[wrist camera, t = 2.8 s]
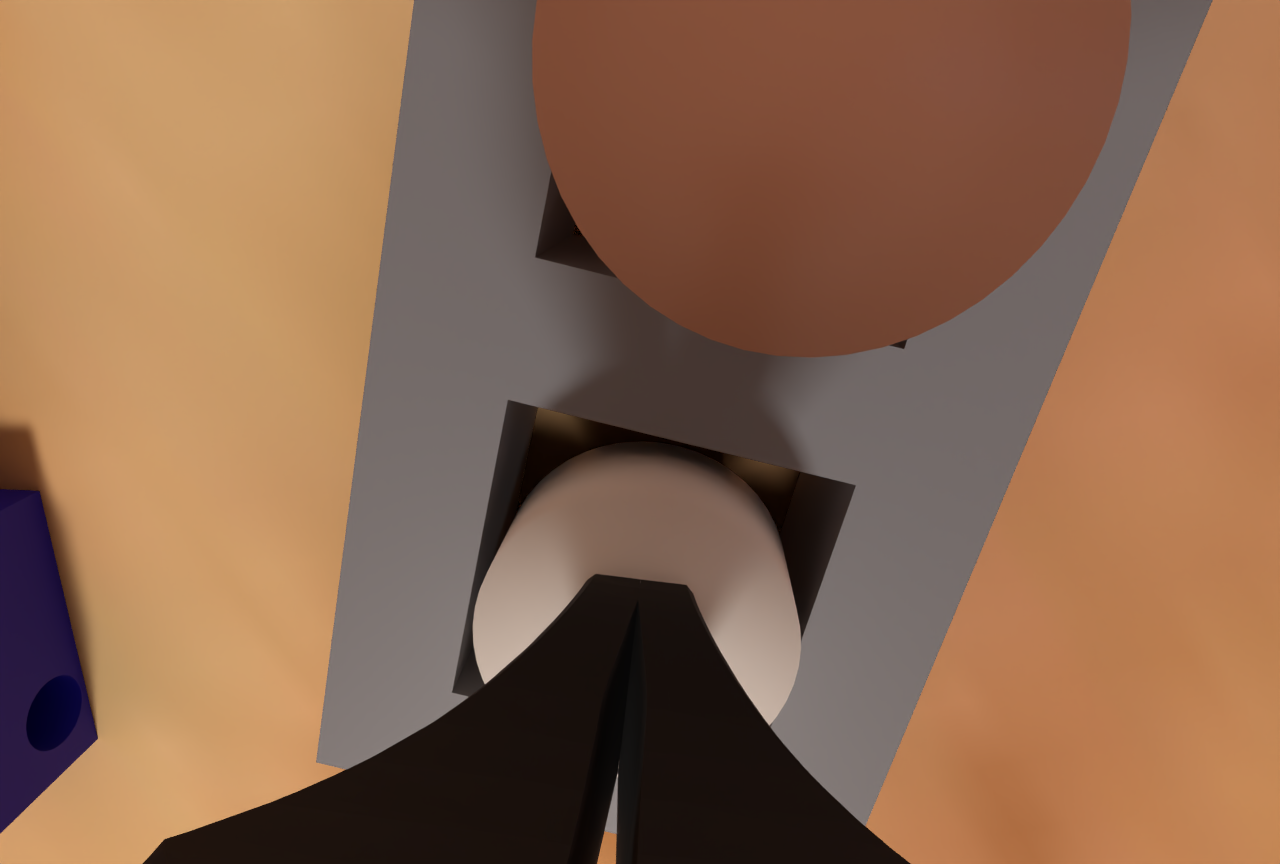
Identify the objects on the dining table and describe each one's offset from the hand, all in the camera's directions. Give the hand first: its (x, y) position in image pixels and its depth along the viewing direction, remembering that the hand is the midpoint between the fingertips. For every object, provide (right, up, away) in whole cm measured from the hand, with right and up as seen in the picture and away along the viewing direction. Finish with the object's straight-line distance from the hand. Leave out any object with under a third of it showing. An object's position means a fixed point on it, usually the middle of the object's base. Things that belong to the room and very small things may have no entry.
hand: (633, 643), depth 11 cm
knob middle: (+2, +7, 0) cm, 7 cm away
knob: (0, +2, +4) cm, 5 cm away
